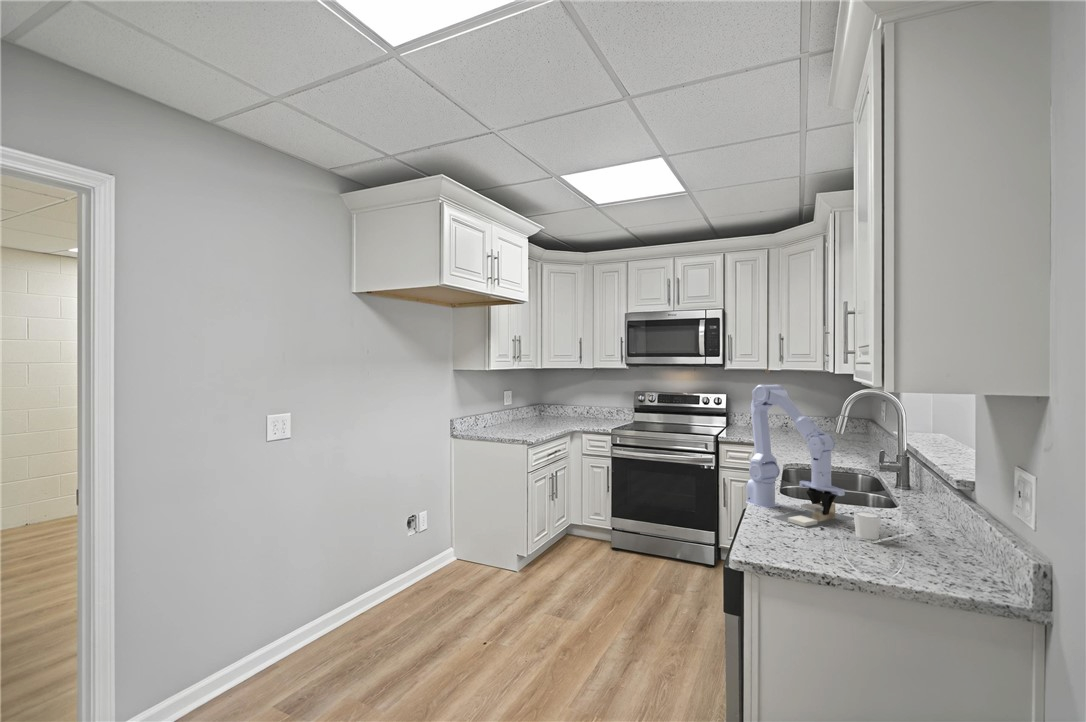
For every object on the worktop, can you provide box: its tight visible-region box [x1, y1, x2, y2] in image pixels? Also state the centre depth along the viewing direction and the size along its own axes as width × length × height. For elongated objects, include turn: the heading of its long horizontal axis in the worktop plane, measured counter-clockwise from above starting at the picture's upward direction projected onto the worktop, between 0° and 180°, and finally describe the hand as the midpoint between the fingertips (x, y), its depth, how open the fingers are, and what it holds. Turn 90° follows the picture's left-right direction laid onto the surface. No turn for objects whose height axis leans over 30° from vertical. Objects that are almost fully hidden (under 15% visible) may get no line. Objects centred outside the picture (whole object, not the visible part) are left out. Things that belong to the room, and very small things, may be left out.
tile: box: [787, 515, 817, 528], centre depth 166 cm, size 6×1×6 cm
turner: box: [800, 501, 836, 522], centre depth 170 cm, size 12×5×5 cm, turn 117°
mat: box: [770, 510, 854, 530], centre depth 172 cm, size 14×24×1 cm, turn 117°
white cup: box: [853, 511, 882, 542], centre depth 153 cm, size 7×7×7 cm
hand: (821, 513), depth 170 cm, fingers closed on turner, 2 cm apart
